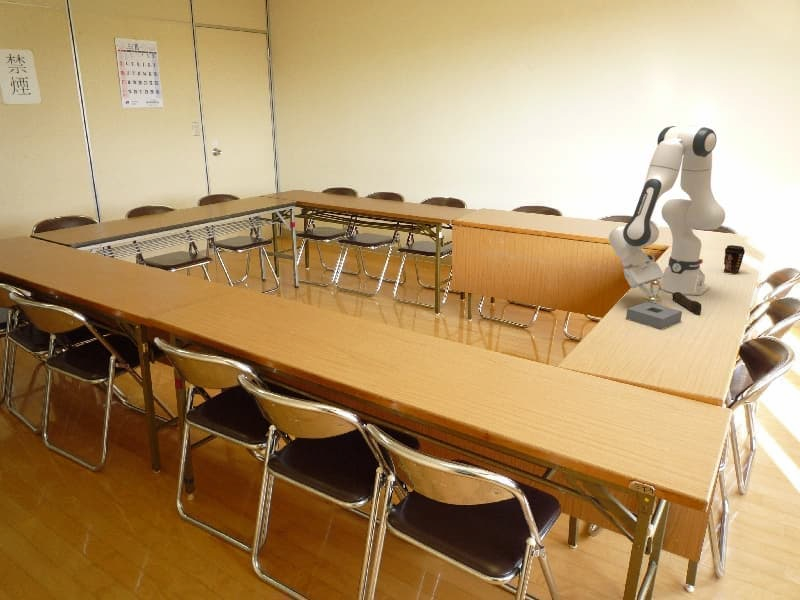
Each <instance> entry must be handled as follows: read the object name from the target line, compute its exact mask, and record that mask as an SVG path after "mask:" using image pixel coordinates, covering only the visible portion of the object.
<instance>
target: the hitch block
mask: <svg viewBox="0 0 800 600" xmlns="http://www.w3.org/2000/svg"><path fill="white" fill-rule="evenodd" d="M682 313H683V311H682V310H679V309H675V308H672V307H668V306H666V305H665V306H664V305H661V304H657V303H656V304H654V303H650V302H648V301H645V302H642V303H639V304H637V305H634V306H631V307H628V308H627V309H626V316H625V319H626V318H627V319H626V320H629V319H630V320H629V321H632V320H634V321H633V322H635V321H637V322H636V323H638V322H640V323H639V324H642V323H643V324H642V325H645V324H646V325H645V326H648V325H650V326H649V327H651V326H652V327H651V328H654V327H656V328H655V329H658V328H659V329H658V330H663V328H664V329H666V328H668V327H671V326H673V325H675V324H678V323H680V322H681V319H682V315H683V314H682ZM670 325H671V326H670ZM665 327H666V328H665Z"/></svg>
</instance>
